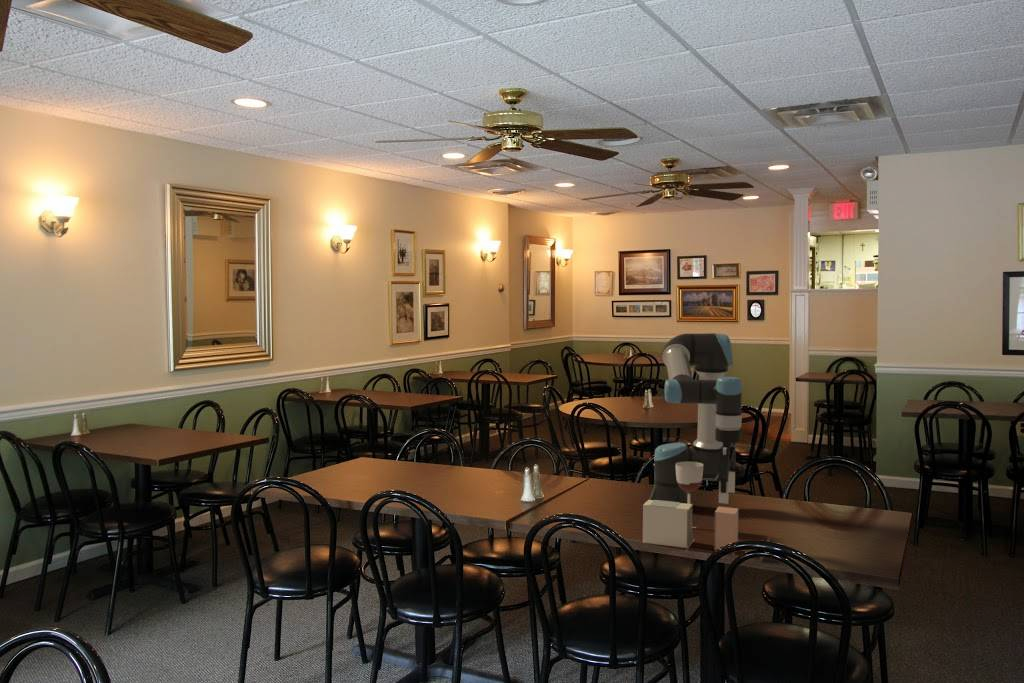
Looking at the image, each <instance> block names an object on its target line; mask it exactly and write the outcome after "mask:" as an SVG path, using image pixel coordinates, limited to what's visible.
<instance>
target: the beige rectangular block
mask: <svg viewBox="0 0 1024 683" xmlns="http://www.w3.org/2000/svg"><path fill="white" fill-rule="evenodd" d="M693 505H694V504H693V503H691V504H686V503H680V502H671V501H661V500H649V499H648V500H647V501H645V503H643V505H642V543H643V544H652V545H661V546H667V547H668V546H669V547H676V548H684V549H687V548H688V547H689V545H690V544H691V542H692V541H693ZM691 545H692V544H691ZM689 548H690V547H689Z"/></svg>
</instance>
